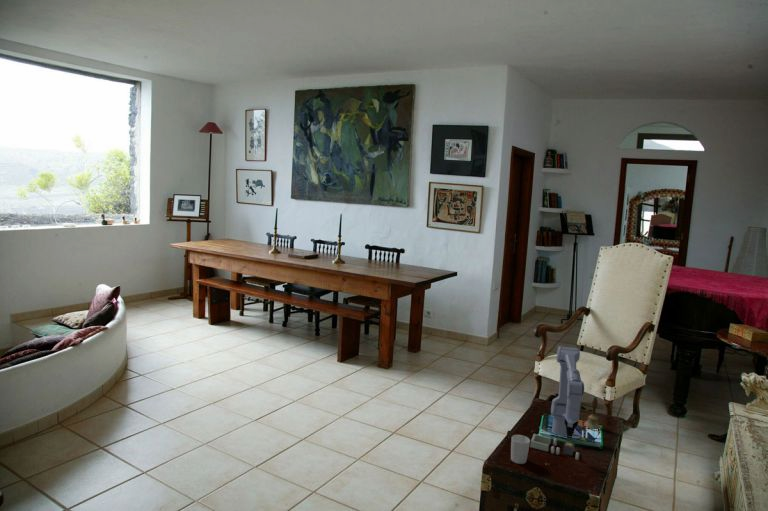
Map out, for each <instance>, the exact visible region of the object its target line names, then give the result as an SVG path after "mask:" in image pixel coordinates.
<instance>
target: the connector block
mask: <svg viewBox="0 0 768 511" xmlns="http://www.w3.org/2000/svg"><path fill="white" fill-rule="evenodd" d="M574 447H575V443H570V442H568V441H564V445H563V452H562V453H563V455H567V456H570V457H573V456H574V455H573V454H574Z"/></svg>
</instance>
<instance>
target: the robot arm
mask: <svg viewBox="0 0 768 511" xmlns="http://www.w3.org/2000/svg"><path fill="white" fill-rule="evenodd" d="M580 354H581V353H580V348H578V347H566V346H561V345H559V346H558V347H557V350H556V362H557V363H559V366H560V367H559V368H560V369H559V371H560V372H559V384H558V395H557V397H555V398H553V399H552V401H551V407H550V414H551V416H552V417H553V419H552V426H551V427H552V428H551V430H552V432H553V433H555V434H557V435H561V436H566V435H567V436H568V437H570V438H572V437H573V436H574V432H575V430H576V428H577V426H578V424H579V421H580V413H581V411H580V410H581V404H582V397H583V395H584V393H585V383H584V381H583V380H582V378H581V373H580V371H579V370H578V369H577V363H578V362H579V360H580V358H581V355H580Z"/></svg>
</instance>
